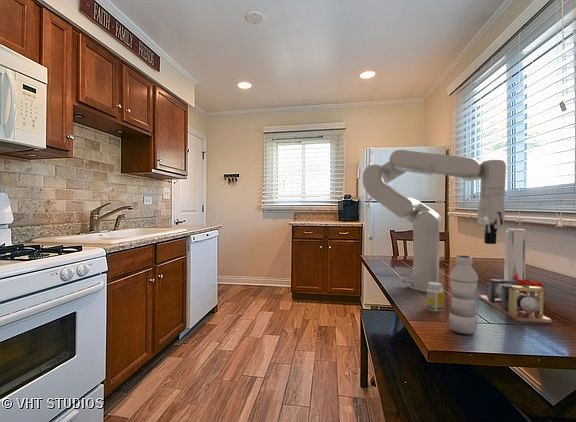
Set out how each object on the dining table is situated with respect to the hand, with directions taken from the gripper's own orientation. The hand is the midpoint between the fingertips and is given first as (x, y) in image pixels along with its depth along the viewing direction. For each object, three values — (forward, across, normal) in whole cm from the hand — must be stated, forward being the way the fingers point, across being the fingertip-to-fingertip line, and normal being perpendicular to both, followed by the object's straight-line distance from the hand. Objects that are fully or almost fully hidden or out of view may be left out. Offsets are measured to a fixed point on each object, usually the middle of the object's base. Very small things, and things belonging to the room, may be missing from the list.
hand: (490, 243), depth 112 cm
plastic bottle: (+20, +35, -23) cm, 47 cm away
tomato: (+20, +3, +12) cm, 23 cm away
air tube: (+18, +15, +1) cm, 23 cm away
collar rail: (+20, +13, +1) cm, 24 cm away
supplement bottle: (+20, +17, -24) cm, 36 cm away
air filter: (+20, -9, +14) cm, 26 cm away
